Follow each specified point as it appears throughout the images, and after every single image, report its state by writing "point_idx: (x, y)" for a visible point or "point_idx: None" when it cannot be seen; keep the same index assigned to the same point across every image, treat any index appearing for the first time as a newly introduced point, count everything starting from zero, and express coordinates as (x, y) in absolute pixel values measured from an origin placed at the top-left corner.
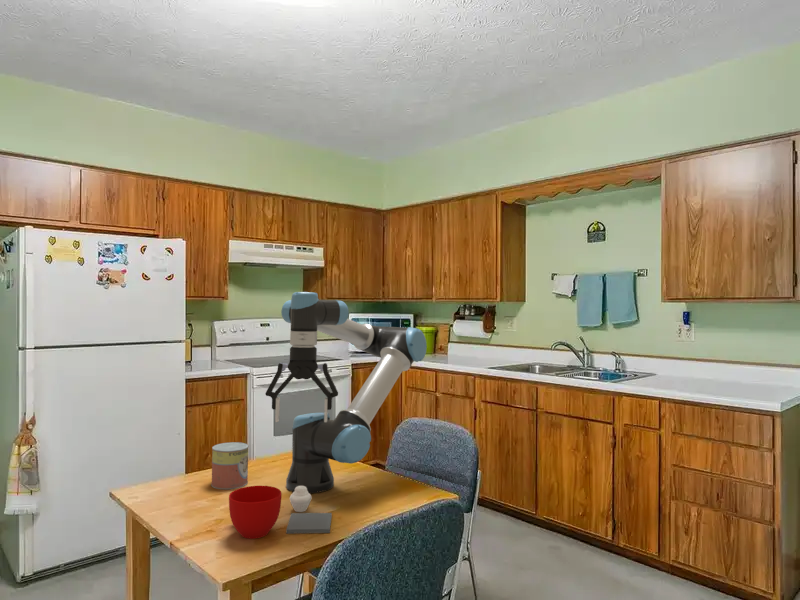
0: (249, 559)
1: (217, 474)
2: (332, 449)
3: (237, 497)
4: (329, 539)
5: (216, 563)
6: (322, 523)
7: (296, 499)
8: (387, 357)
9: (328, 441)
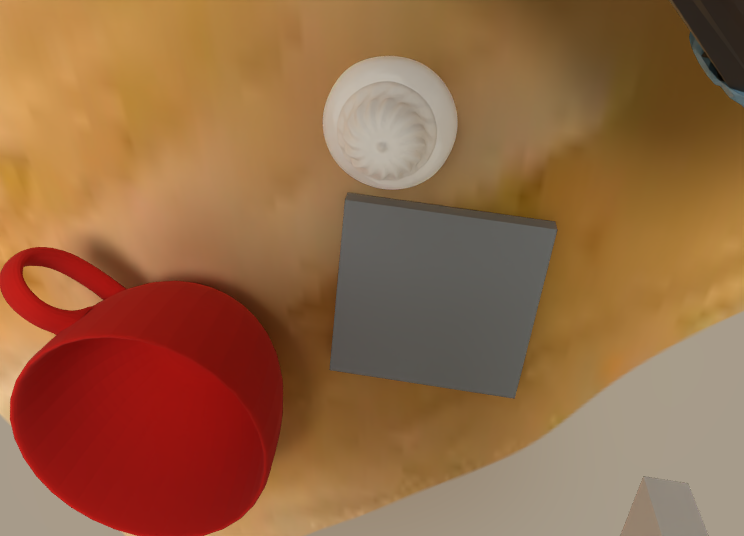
0: None
1: None
2: (702, 67)
3: (49, 354)
4: (503, 436)
5: None
6: (490, 342)
7: (362, 182)
8: None
9: (691, 16)
